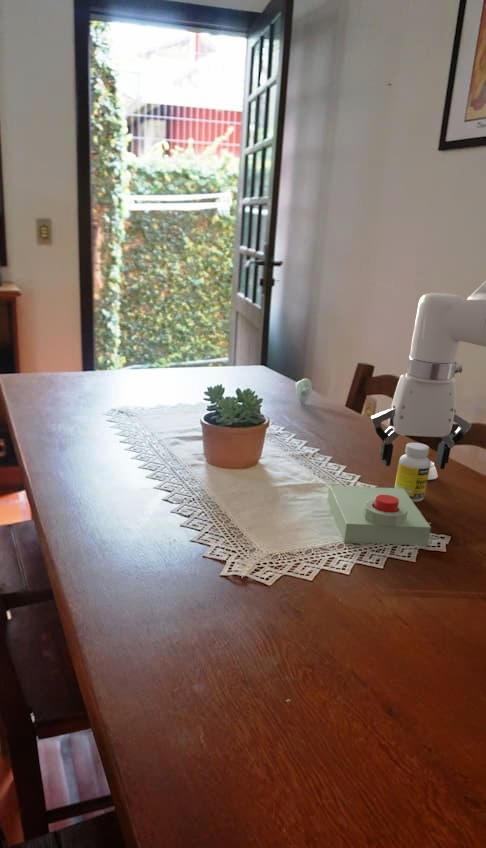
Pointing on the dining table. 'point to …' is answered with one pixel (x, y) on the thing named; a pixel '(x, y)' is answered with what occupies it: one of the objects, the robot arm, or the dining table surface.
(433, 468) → the small white bowl
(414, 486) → the supplement bottle
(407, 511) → the red button box
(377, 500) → the button
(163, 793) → the dining table surface
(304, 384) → the pale green rock
